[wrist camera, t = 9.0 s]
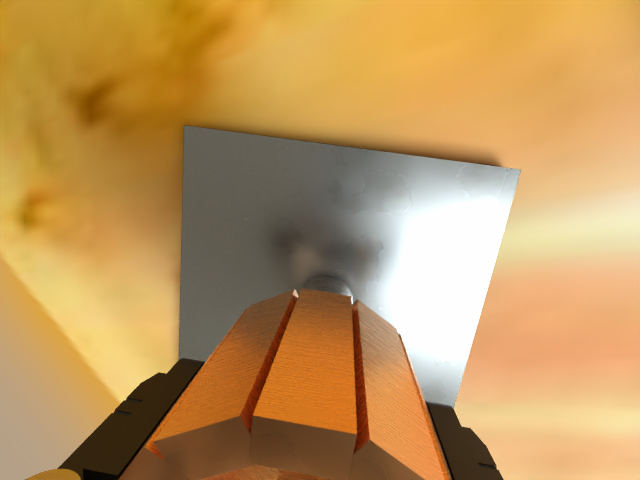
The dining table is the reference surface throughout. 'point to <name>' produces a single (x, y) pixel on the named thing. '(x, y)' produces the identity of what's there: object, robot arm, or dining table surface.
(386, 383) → the wooden tube
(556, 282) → the dining table surface
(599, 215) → the dining table surface
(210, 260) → the base
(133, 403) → the robot arm
